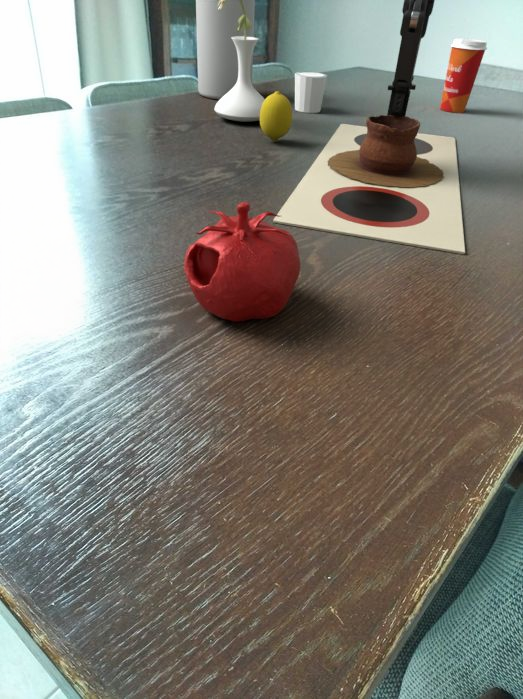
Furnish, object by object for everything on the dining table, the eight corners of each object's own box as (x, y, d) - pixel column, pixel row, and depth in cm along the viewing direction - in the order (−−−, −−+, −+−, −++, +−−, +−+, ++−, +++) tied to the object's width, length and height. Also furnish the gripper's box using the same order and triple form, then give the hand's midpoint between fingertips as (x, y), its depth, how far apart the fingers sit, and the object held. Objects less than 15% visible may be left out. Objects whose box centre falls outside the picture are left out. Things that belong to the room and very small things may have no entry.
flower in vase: (227, 110, 104) (228, -41, 89) (278, 117, 101) (289, -38, 86) (201, 123, 94) (197, -44, 79) (257, 131, 91) (264, -40, 76)
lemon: (256, 144, 85) (258, 92, 80) (261, 136, 89) (263, 86, 84) (288, 147, 84) (292, 95, 79) (291, 139, 89) (295, 89, 84)
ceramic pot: (396, 197, 67) (408, 142, 62) (303, 162, 77) (308, 113, 73) (466, 173, 77) (480, 125, 72) (375, 145, 87) (384, 101, 83)
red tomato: (295, 277, 48) (305, 182, 43) (297, 337, 40) (310, 230, 35) (194, 270, 48) (191, 175, 43) (177, 329, 40) (170, 221, 35)
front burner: (430, 197, 68) (430, 195, 68) (427, 237, 58) (428, 235, 57) (330, 182, 71) (330, 180, 71) (310, 218, 60) (310, 216, 60)
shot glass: (285, 108, 108) (288, 72, 104) (305, 105, 112) (309, 70, 108) (309, 115, 104) (313, 77, 100) (329, 111, 108) (334, 75, 104)
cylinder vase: (233, 103, 109) (235, -40, 94) (187, 95, 114) (182, -43, 99) (261, 95, 118) (267, -37, 103) (217, 87, 123) (217, -40, 107)
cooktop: (454, 139, 94) (455, 137, 94) (464, 254, 54) (465, 252, 54) (341, 125, 99) (341, 123, 98) (272, 222, 59) (272, 220, 58)
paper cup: (432, 105, 119) (448, 37, 111) (463, 107, 119) (482, 39, 111) (439, 112, 113) (458, 41, 104) (473, 114, 113) (494, 43, 104)
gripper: (405, -56, 69) (372, 123, 84) (398, -62, 59) (363, 143, 74) (460, -53, 68) (417, 129, 82) (462, -58, 58) (413, 150, 72)
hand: (392, 135), depth 78 cm, fingers closed
